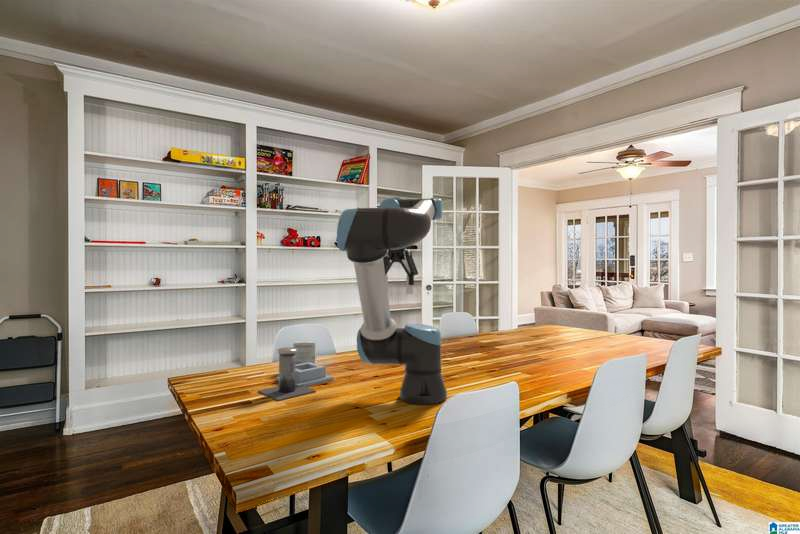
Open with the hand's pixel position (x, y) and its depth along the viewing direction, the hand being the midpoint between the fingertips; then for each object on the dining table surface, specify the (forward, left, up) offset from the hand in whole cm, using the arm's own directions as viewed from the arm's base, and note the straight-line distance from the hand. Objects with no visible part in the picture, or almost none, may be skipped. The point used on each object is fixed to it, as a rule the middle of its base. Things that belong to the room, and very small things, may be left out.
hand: (396, 293), depth 168 cm
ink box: (+31, +22, -32) cm, 50 cm away
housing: (+19, +30, -32) cm, 47 cm away
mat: (+11, +42, -32) cm, 53 cm away
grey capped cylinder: (+11, +42, -31) cm, 53 cm away
